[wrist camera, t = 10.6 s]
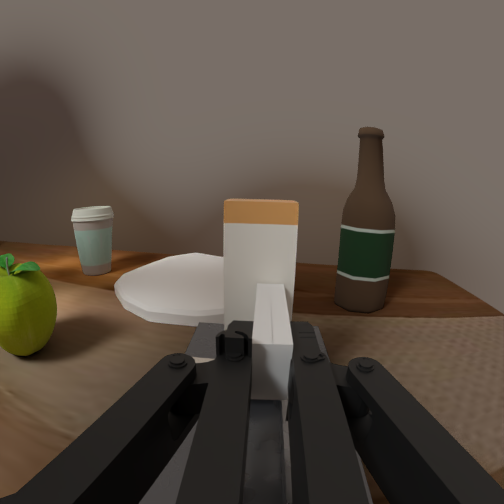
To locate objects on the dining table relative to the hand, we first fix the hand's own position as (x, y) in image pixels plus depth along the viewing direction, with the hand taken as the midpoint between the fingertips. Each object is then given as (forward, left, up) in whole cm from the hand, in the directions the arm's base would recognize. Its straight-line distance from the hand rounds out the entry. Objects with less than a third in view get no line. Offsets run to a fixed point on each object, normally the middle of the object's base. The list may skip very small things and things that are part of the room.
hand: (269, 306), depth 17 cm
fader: (0, +2, -7) cm, 7 cm away
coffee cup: (-9, +43, -9) cm, 45 cm away
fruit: (-19, +17, -9) cm, 27 cm away
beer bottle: (+23, +11, -9) cm, 27 cm away
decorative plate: (+6, +27, -9) cm, 29 cm away
